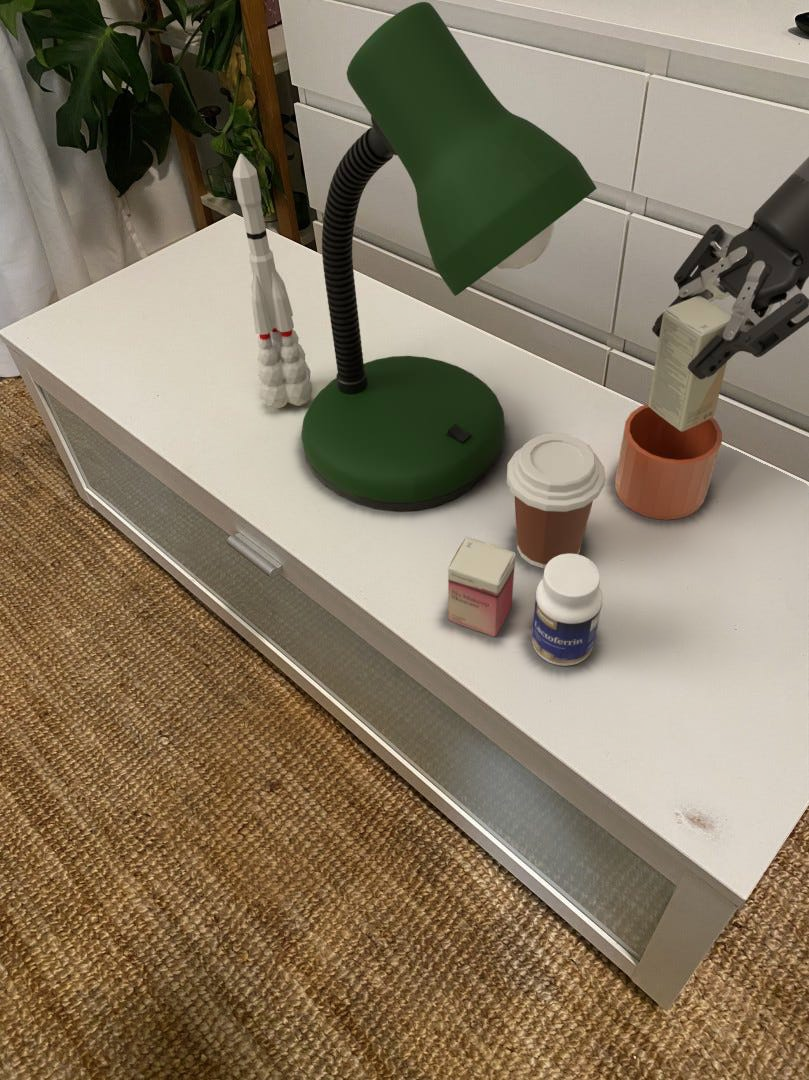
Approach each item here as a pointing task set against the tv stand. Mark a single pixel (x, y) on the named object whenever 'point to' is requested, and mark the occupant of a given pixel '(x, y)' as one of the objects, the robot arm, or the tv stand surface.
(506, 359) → the tv stand surface
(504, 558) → the small box
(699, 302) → the box
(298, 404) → the rocket model
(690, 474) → the terracotta plant pot
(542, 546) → the coffee cup
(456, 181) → the desk lamp
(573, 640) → the pill bottle
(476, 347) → the tv stand surface
